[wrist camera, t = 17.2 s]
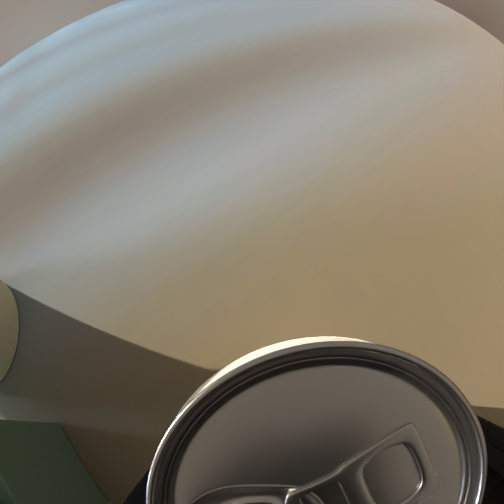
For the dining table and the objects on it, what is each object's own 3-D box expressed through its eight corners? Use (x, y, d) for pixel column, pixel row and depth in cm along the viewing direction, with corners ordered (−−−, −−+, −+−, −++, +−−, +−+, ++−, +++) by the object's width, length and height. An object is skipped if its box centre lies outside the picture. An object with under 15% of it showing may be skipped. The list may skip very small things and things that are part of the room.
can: (213, 403, 15) (72, 390, 5) (329, 355, 16) (420, 250, 5) (259, 510, 12) (216, 661, 2) (377, 461, 13) (529, 527, 2)
